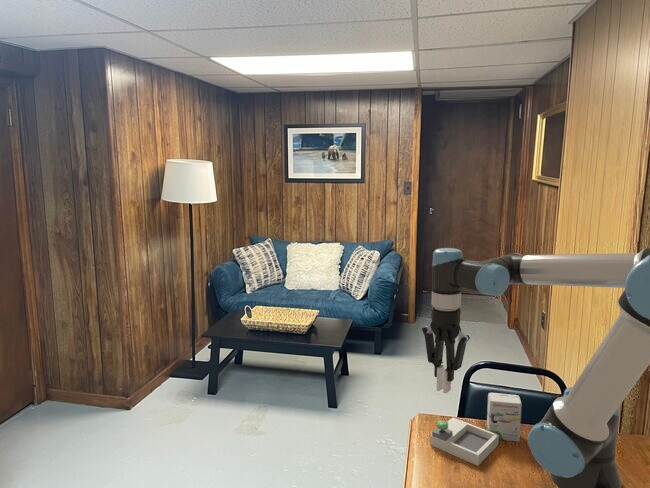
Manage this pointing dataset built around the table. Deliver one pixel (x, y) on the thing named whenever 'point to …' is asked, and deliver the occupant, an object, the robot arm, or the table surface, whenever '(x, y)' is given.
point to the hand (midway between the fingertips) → (443, 390)
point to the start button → (442, 425)
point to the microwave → (465, 441)
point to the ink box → (504, 416)
